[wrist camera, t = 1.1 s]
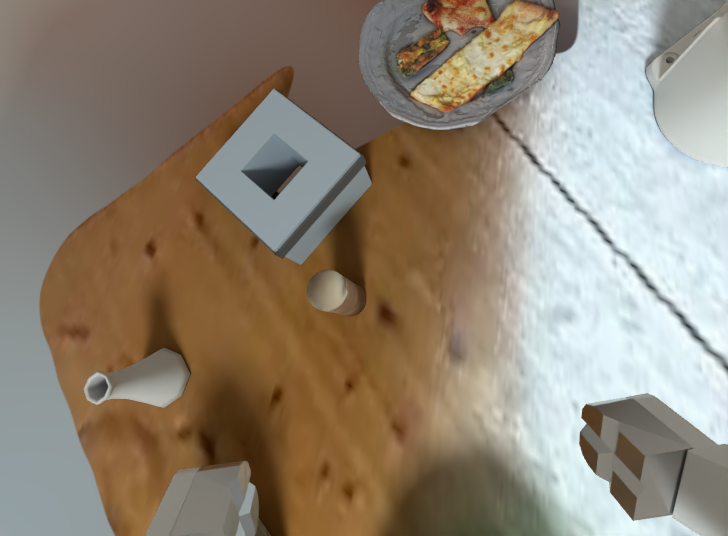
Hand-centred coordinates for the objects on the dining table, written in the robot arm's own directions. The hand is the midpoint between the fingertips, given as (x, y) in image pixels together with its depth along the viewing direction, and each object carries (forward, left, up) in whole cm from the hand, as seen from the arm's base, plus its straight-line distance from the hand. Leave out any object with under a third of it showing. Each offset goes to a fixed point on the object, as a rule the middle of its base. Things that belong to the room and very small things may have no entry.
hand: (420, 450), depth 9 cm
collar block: (-5, -27, -34) cm, 43 cm away
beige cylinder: (+1, -12, -34) cm, 36 cm away
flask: (+25, -24, -34) cm, 49 cm away
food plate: (-33, -24, -34) cm, 53 cm away
